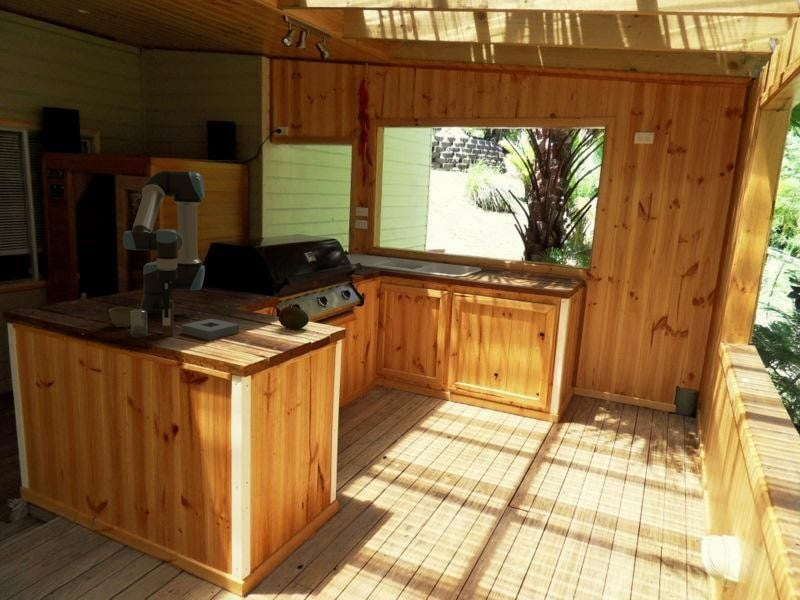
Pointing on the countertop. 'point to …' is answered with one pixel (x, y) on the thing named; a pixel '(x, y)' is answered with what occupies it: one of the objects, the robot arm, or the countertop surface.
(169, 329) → the wooden square peg
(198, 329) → the socket plate
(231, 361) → the countertop surface
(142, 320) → the round bit
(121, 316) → the flower pot
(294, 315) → the fruit
